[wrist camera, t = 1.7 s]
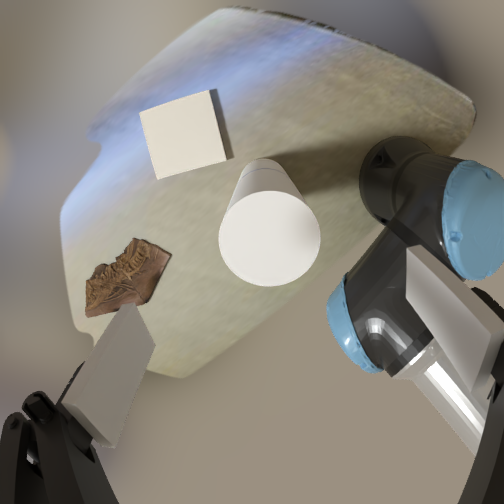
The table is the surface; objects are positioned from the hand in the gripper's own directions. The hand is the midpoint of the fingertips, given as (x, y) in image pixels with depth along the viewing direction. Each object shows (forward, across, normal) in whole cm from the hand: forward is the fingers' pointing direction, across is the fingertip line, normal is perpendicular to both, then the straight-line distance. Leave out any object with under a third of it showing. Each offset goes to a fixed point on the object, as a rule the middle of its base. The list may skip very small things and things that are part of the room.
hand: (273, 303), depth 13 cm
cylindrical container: (+33, 0, 0) cm, 33 cm away
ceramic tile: (+33, +10, -10) cm, 36 cm away
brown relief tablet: (+34, +30, +12) cm, 47 cm away
